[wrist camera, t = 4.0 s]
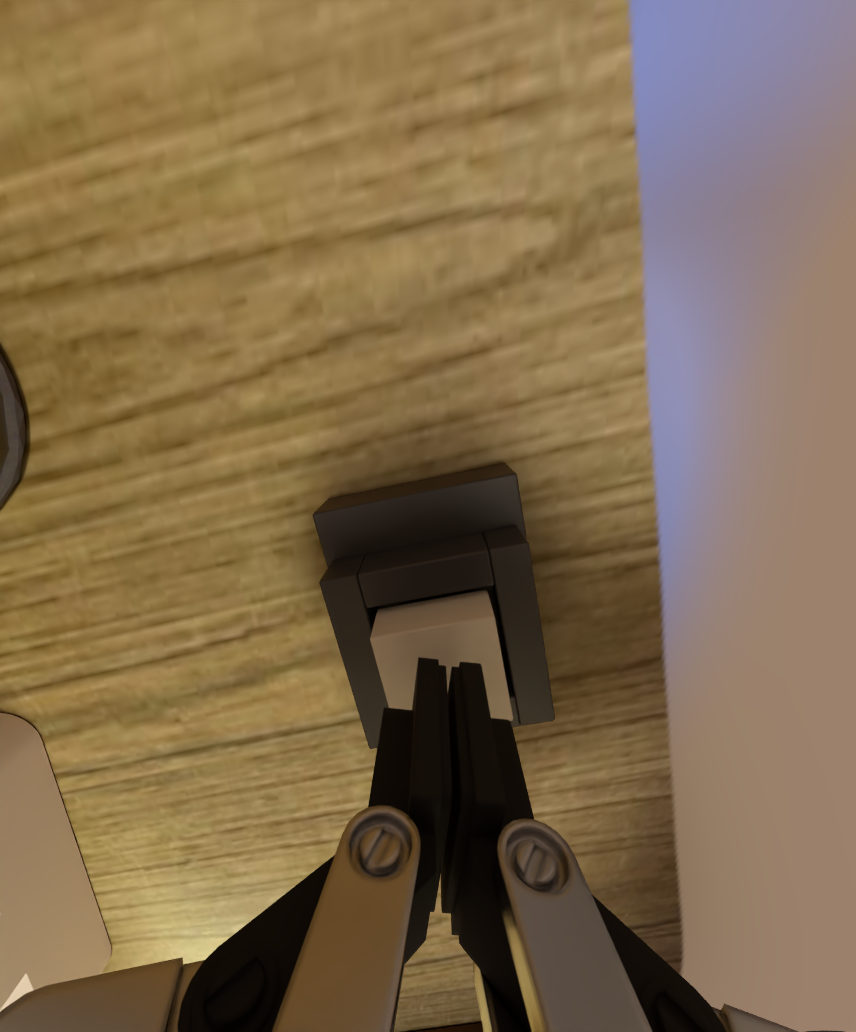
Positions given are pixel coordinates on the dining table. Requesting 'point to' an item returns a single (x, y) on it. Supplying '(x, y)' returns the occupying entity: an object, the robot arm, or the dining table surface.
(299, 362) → the dining table surface
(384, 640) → the key
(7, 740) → the slotted bracket
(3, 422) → the canister
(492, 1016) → the robot arm
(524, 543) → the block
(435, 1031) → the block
